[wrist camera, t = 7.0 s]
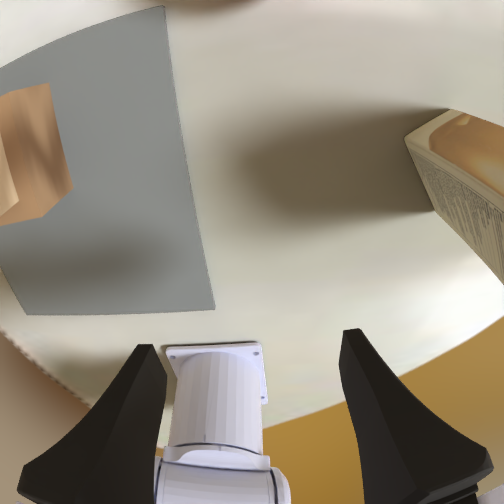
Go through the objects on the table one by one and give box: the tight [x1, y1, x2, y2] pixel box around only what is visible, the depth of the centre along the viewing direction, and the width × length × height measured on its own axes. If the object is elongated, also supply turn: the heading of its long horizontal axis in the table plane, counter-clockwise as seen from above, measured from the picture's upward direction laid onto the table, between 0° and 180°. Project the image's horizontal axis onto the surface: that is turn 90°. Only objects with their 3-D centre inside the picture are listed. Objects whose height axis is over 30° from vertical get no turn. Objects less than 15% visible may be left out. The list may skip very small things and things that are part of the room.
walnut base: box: [0, 83, 74, 226], centre depth 14 cm, size 7×7×4 cm
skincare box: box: [404, 109, 504, 285], centre depth 12 cm, size 6×4×12 cm
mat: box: [0, 5, 215, 315], centre depth 18 cm, size 20×18×1 cm
